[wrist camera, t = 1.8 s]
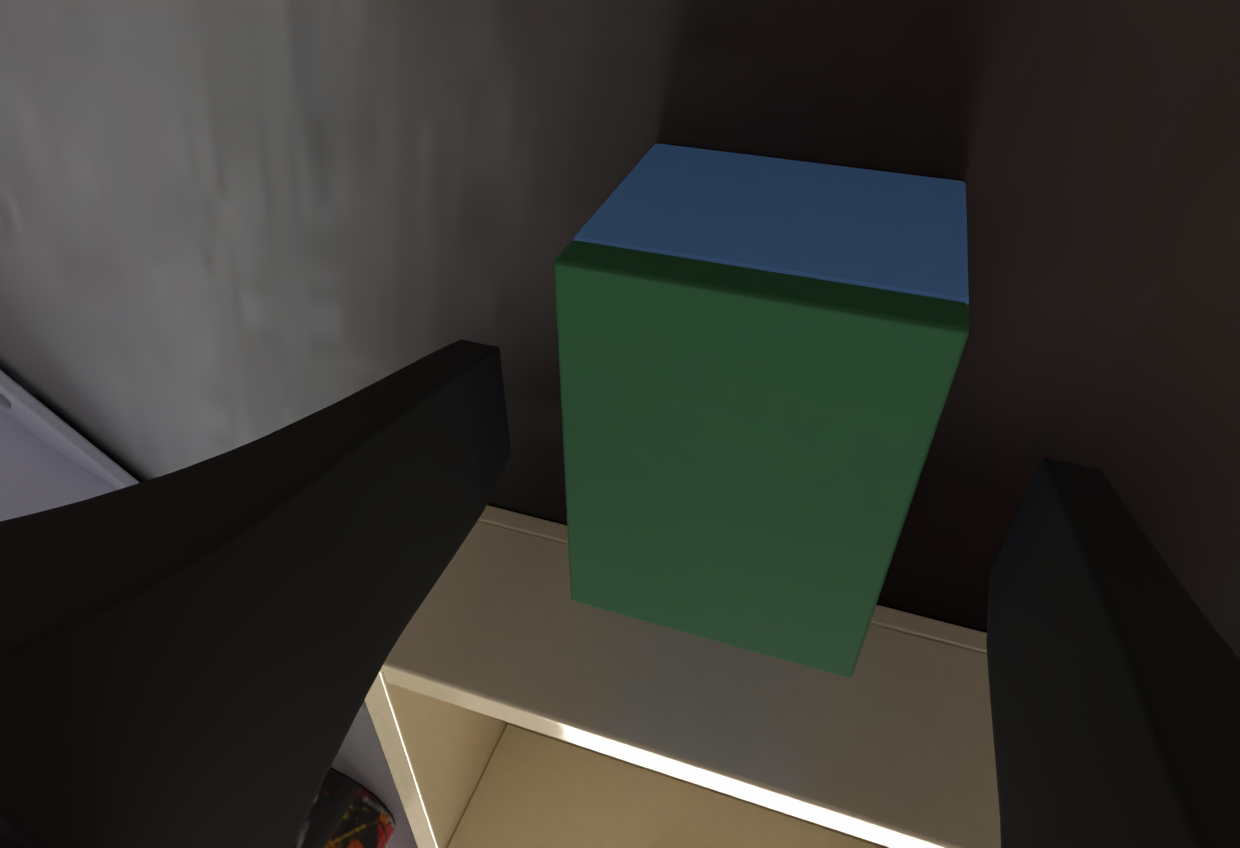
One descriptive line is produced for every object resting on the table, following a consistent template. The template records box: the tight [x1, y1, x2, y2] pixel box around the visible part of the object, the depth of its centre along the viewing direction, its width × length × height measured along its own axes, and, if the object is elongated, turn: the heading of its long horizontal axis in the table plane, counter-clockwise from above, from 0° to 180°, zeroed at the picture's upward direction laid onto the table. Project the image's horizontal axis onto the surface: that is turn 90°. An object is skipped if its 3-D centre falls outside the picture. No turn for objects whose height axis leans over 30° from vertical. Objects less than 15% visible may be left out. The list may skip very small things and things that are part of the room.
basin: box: [365, 505, 1001, 848], centre depth 18 cm, size 13×9×4 cm
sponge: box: [554, 143, 969, 678], centre depth 11 cm, size 6×4×4 cm
